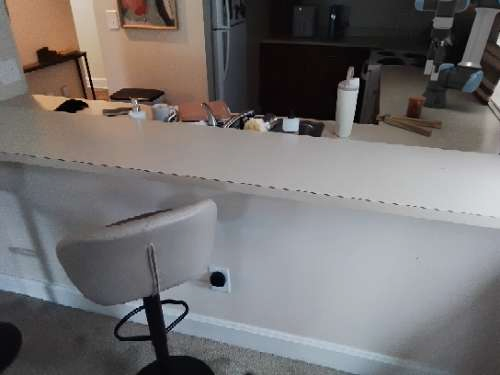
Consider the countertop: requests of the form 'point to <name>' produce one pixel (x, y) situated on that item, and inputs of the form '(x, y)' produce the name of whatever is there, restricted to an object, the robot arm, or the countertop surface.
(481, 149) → the countertop surface
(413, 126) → the wooden kitchen tongs
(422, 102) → the mug
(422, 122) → the tongs jaw
